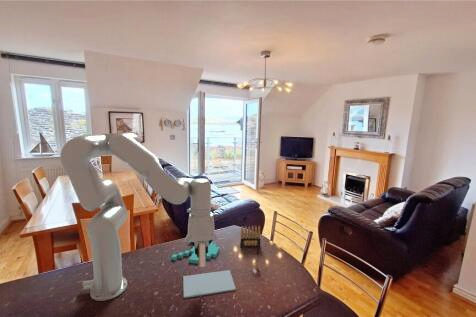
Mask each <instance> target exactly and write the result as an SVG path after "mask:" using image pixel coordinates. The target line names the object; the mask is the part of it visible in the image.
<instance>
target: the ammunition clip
mask: <svg viewBox="0 0 476 317" xmlns="http://www.w3.org/2000/svg"><path fill="white" fill-rule="evenodd" d="M240 229H241V230H240V244H239V246H240V249H241V248H242V249H244V248H245V249H246V248H248V249H250V248H254V249H255V248H257V249H258V248H261V226H260V225H258V227H257V225H255V226H254V225H251V226H250V225H248V227H247V225H245V227H244V226H243V225H241V228H240Z"/></svg>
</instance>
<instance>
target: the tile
mask: <svg viewBox="0 0 476 317" xmlns="http://www.w3.org/2000/svg"><path fill="white" fill-rule="evenodd" d="M198 248H199V257H198V261H199V263H198V267H199V268H201V267H202V268H203V267H206V259H205V241H200V242H198Z"/></svg>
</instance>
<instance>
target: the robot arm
mask: <svg viewBox="0 0 476 317" xmlns="http://www.w3.org/2000/svg"><path fill="white" fill-rule="evenodd" d="M59 155H60V156H59V157H60V163H61V165H62V168H63V169H64V171H65V172H66V173H65V174H66V176H68V178H69V181H70V183H71V186H72V188H73V191H74V192H75V194H76V197H77V199H78V202H79V204H80V206H81V207H82V208H83V209H84V210H86V211H88V212H94V211H97V210H99V209H100V211H98V212H96V213H95V215H93V216H92V217H91V218H90V220H89V222H88V223H87V226H86V231H87V236H88V239H89V242H90V248H91V258H92V268H93V269H92V270H93V279H92V280H91V279H90V280H83V281H82V284H81V285H82V287H83V291H86V290H90V292H89V294H90V298H91V299H92V300H94V301H96V302H100V301H101V302H103V301H109V300H112V299H115V298H116V297H118V296H120V295H121V294H123V293H124V291H125V290H126V289H127V286H128V280H127V279H126V278H125V277H124V276H123V264H122V262H123V260H122V249H121V246H122V245H121V240H120V236H119V235H118V234H119V233H118V230H119V229H120V228H121V226H122V225H123V224H124V223H125V221H126V220H127V217H128V209H127V206H126V204H125V202H124V199H123V197H122V195H121V192H120V189H119V188H118V186H117V184H116V183H114V181H112V180H110V179H108V178H107V179H106V178H100V176H99V175H100V174H98V171H97V169H96V167H95V166H94V165H93V164H92V163H91V160H92V159H94V158H95V159H96V158H99V157H103V156H115V157H117V158H118V159H119V160H121V161H122V162H123V163H125V164H126V165H127V166H128V167H130V168H131V169H132V170H134V171H135V172H137V174H139V175H141V177H142V178H143V180H144V181H145V182H146V184H147V185H148V186H149V187H150V188H151V189H152V191H154V192H155V193H156V194H158V195H159V196H160V197H161V198H163V200H166V201H167V202H169V203H170V204H173V205H181V204H183V203H185V202H186V201H187V200H188V198H189V197H190V208H187V209H186V212H187V213H189V214H188V215H189V216H188V221H187V222H188V223H187V234H186V236H185V238H184V243H187V244H189V243H190V244H189V245H190V246H191V245H192V246H194V248H195V255H196V254H197V258H198V257H199V248H198V242H200V241H205V257H207V253H208V246H209V244H210V243H211V242H214V241H216V240H218V236H217V234H216V229H215V219H214V214H213V212H212V207H211V206H212V202H211V201H212V200H211V198H212V197H211V196H212V194H211V181H210V180H209V179H207V178H204V177H203V178H199V177H198V178H187V177H177V178H175V179H174V178H173V177H172V176H171V175H170V174H168V173H167V172H166V171H165V170H164V169H163V167H162V165H161V161H160V159H159V157H158V156H157V155H156V154H154V153H153V152H152V151H150V150H149V149H148V148H146V147H145V146H143V145H142V141H141V138H140V137H139V135H137V134H135V133H133V132H129V131H128V132H118V133H117V132H115V133H95V134H94V133H93V134H92V133H91V134H83V135H78V136H75V137H72V138H70V139H69V140H68V141H67V142H65V144H64V145H63V146H62V148H61V151H60V154H59Z"/></svg>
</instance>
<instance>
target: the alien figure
mask: <svg viewBox="0 0 476 317" xmlns="http://www.w3.org/2000/svg"><path fill="white" fill-rule="evenodd" d="M188 244H189V245H190V246H191V249H190V250H187V249H186V250H184V252H181V251H180V252H178V253H177V254H176V253H174V254H172V255H171V256H170V257H171V258H170V259H171V261H177V260H178V259H184V257H188V263H189V264H198V265H199V261H198V258H197V254H196V255H195V248H194V246H192V245H191V244H190V243H188ZM220 250H221V249H220V247H219V246H218V245H217V244H216V243H215V242H214V241H212V242H211V243H210V244H209V246H208V253H207V257H205V260H211V259H212V258H214V259H215V258H217V256H218V254H219V253H220ZM190 255H191V256H190Z"/></svg>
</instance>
